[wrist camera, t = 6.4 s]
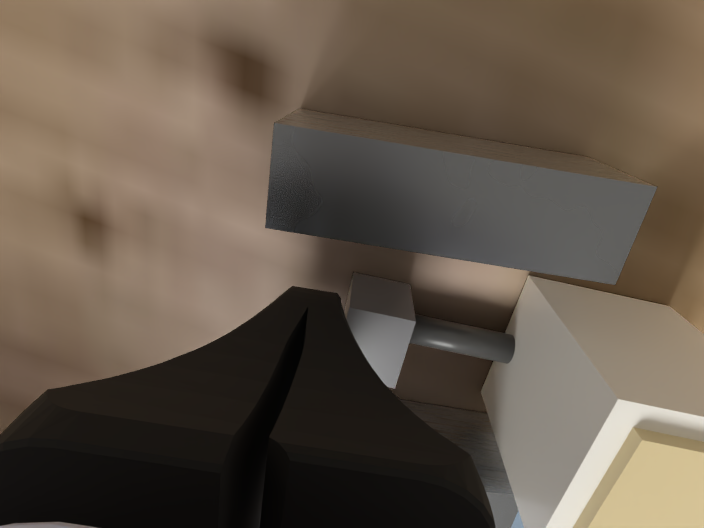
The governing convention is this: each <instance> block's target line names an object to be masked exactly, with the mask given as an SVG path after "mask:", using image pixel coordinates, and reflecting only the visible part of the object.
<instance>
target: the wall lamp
mask: <svg viewBox="0 0 704 528" xmlns="http://www.w3.org/2000/svg"><path fill="white" fill-rule="evenodd" d="M344 314H345V317H346V320H347V322H348V325H349V327H350V329H351V331H352V333H353V336H354V338H355V340H356V342H357V343H358V345H359V347H360V349H361V351H362V352H363V354H364V356H365V357H366V359H367V361H368V362H369V364H370V365H371V367H372V368H373V370H374V371H375V372H376V374H377V375H378V376H379V378H380V379H381V380H382V381H383V383H384V384H385V385H386V386H387V387H389V388H394V389H395V387H396V384H397V380H398V377H399V374H400V371H401V368H402V364H403V361H404V358H405V355H406V352H407V349H408V345H409V343H411V344H416V345H421V346H425V347H430V348H435V349H440V350H444V351H449V352H454V353H459V354H463V355H468V356H473V357H478V358H482V359H487V360H492V361H493V363H492V366H491V368H490V370H489V373H488V375H487V378H486V380H485V383H484V385H483V387H482V390H481V395H482V398H483V401H484V404H485V407H486V410H487V413H488V416H489V420H490V423H491V426H492V429H493V432H494V435H495V438H496V441H497V445H498V448H499V451H500V454H501V457H502V460H503V463H504V467H505V470H506V473H507V476H508V479H509V482H510V485H511V488H512V492H513V495H514V498H515V501H516V504H517V507H518V510H519V513H520V517H521V520H522V523H523V526H524V528H704V334H703V333H702V332H701V331H699V330H698V329H697V328H696V327H695V326H693V325H692V324H691V323H690V322H688V321H687V320H686V319H685V318H684V317H682V316H681V315H680V314H679V313H678V312H676V311H675V310H674V309H673V308H671V307H670V306H667V305H662V304H657V303H653V302H648V301H644V300H639V299H635V298H630V297H626V296H621V295H616V294H612V293H607V292H603V291H598V290H594V289H589V288H584V287H580V286H575V285H571V284H566V283H562V282H557V281H553V280H548V279H543V278H539V277H534V276H530V275H528V278H527V280H526V282H525V285H524V287H523V290H522V292H521V295H520V297H519V300H518V302H517V304H516V307H515V309H514V312H513V314H512V317H511V319H510V322H509V324H508V326H507V329H506V331H505V333H502V332H497V331H492V330H488V329H483V328H478V327H474V326H469V325H464V324H459V323H455V322H450V321H445V320H441V319H436V318H431V317H427V316H422V315H417V314H415V312H414V306H413V299H412V293H411V286H410V284H406V283H401V282H397V281H392V280H387V279H383V278H378V277H374V276H369V275H364V274H360V273H355V272H353V275H352V280H351V284H350V288H349V292H348V296H347V301H346V305H345V309H344Z"/></svg>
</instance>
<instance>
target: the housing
mask: <svg viewBox="0 0 704 528" xmlns="http://www.w3.org/2000/svg"><path fill="white" fill-rule="evenodd" d="M656 189H657V186H654V185H652V184H650V183H647V182H645V181H643V180H640V179H638V178H636V177H633V176H631V175H629V174H626V173H624V172H622V171H619V170H617V169H615V168H613V167H610V166H608V165H606V164H603V163H601V162H599V161H596V160H594V159H592V158H589V157H586V156H580V155H574V154H568V153H562V152H556V151H550V150H544V149H538V148H532V147H526V146H520V145H515V144H509V143H503V142H497V141H491V140H485V139H479V138H473V137H467V136H461V135H455V134H449V133H443V132H437V131H431V130H425V129H419V128H413V127H407V126H401V125H395V124H389V123H383V122H377V121H371V120H365V119H359V118H354V117H348V116H342V115H336V114H330V113H324V112H318V111H312V110H306V109H298V110H296V111H294V112H293V113H291V114H289V115H287V116H285V117H284V118H282V119H280V120H278V121H276V122H275V123H274V130H273V142H272V154H271V165H270V177H269V189H268V201H267V213H266V225H265V228H269V229H275V230H281V231H287V232H294V233H300V234H306V235H312V236H318V237H324V238H330V239H337V240H343V241H349V242H355V243H361V244H367V245H373V246H379V247H386V248H392V249H398V250H404V251H410V252H416V253H422V254H428V255H435V256H441V257H447V258H453V259H459V260H465V261H471V262H478V263H484V264H490V265H496V266H502V267H508V268H514V269H520V270H527V271H533V272H539V273H545V274H551V275H557V276H563V277H570V278H576V279H582V280H588V281H594V282H600V283H606V284H612V285H616V282H617V280H618V278H619V275H620V273H621V271H622V268H623V266H624V264H625V261H626V259H627V257H628V254H629V252H630V250H631V247H632V245H633V243H634V240H635V238H636V236H637V233H638V231H639V229H640V226H641V224H642V222H643V219H644V217H645V215H646V212H647V210H648V208H649V205H650V203H651V201H652V198H653V196H654V194H655V191H656ZM399 400H400V401H401V402H402V403H403V404H404V405H405V406H407V407H408V408H409V409H410V410H411V411H412V412H413V413H414V414H415V415H417V416H418V417H419V418H420V419H422V420H423V421H424V422H425V423H426V424H428V425H429V426H430V427H431V428H433V429H434V430H435V431H437V432H438V433H439V434H441V435H442V436H444V437H445V438H447V439H448V440H450V441H451V442H453V443H454V444H456V445H457V446H458V447H460V448H461V449H463V450H464V451H466V452H467V453H469V454H470V455H471V457H472V459H473V461H474V464H475V466H476V469H477V471H478V473H479V476H480V478H481V481H482V483H483V486H484V488H485V491H486V494H487V496H488V499H489V502H490V506H491V509H492V513H493V517H494V521H495V527H496V528H511V526H512V524H513V522H514V520H515V517H516V515H517V513H518V507H517V504H516V501H515V498H514V495H513V492H512V488H511V485H510V482H509V479H508V476H507V473H506V470H505V467H504V463H503V460H502V457H501V454H500V451H499V448H498V445H497V441H496V438H495V435H494V432H493V429H492V426H491V423H490V420H489V416H488V413H483V412H477V411H470V410H464V409H458V408H451V407H445V406H439V405H432V404H426V403H420V402H413V401H407V400H401V399H399Z"/></svg>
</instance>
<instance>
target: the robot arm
mask: <svg viewBox="0 0 704 528" xmlns="http://www.w3.org/2000/svg"><path fill="white" fill-rule="evenodd" d="M0 528H496V527H495V521H494V517H493V513H492V509H491V506H490V502H489V499H488V496H487V494H486V491H485V488H484V486H483V483H482V481H481V478H480V476H479V473H478V471H477V469H476V466H475V464H474V461H473V459H472V457H471V455H470V454H469V453H467V452H466V451H464V450H463V449H461V448H460V447H458V446H457V445H456V444H454V443H453V442H451V441H450V440H448V439H447V438H445V437H444V436H442V435H441V434H439V433H438V432H437V431H435V430H434V429H433V428H431V427H430V426H429V425H428V424H426V423H425V422H424V421H423V420H422V419H420V418H419V417H418V416H417V415H415V414H414V413H413V412H412V411H411V410H410V409H409V408H408V407H407V406H405V405H404V404H403V403H402V402H401V401H400V400H399V399H398V398H397V397H396V396H395V394H394V393H393V392H392V391H391V390H390V389H389V388H388V387H387V386H386V385H385V384H384V383H383V381H382V380H381V379H380V378H379V376H378V375H377V374H376V372H375V371H374V370H373V368H372V367H371V365H370V364H369V362H368V361H367V359H366V357H365V356H364V354H363V352H362V351H361V349H360V347H359V345H358V343H357V342H356V340H355V338H354V336H353V333H352V331H351V329H350V327H349V325H348V322H347V320H346V317H345V314H344V311H343V308H342V304H341V298H340V296H339V295H338V294H337V293H332V292H326V291H320V290H313V289H307V288H301V287H294V286H292V287H291V288H289V289H288V290H287V291H285V292H284V293H283V294H282V295H281V296H279V297H278V298H277V299H276V300H275V301H273V302H272V303H271V304H270V305H269V306H267V307H266V308H265V309H263V310H262V311H261V312H259V313H258V314H257V315H255V316H254V317H253V318H251V319H250V320H248V321H247V322H245V323H244V324H242V325H241V326H239V327H238V328H236V329H234V330H233V331H231V332H230V333H228V334H226V335H225V336H223V337H221V338H219V339H217V340H215V341H213V342H211V343H209V344H207V345H205V346H203V347H201V348H198V349H196V350H194V351H191V352H189V353H186V354H183V355H181V356H178V357H176V358H173V359H171V360H168V361H165V362H163V363H160V364H157V365H154V366H150V367H147V368H144V369H141V370H137V371H134V372H130V373H126V374H122V375H119V376H115V377H111V378H106V379H102V380H97V381H92V382H86V383H81V384H76V385H71V386H66V387H61V388H55V389H48V390H47V391H46V392H44V393H43V394H42V395H41V396H40V397H39V398H38V399H37V400H35V401H34V402H33V403H32V404H31V405H30V406H29V407H28V408H27V409H25V410H24V411H23V412H22V413H21V414H20V415H19V416H18V417H17V418H16V419H15V420H14V421H13V422H12V423H11V424H10V425H9V426H8V427H7V428H6V429H5V430H4V431H3V432H2V433H1V434H0Z"/></svg>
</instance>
